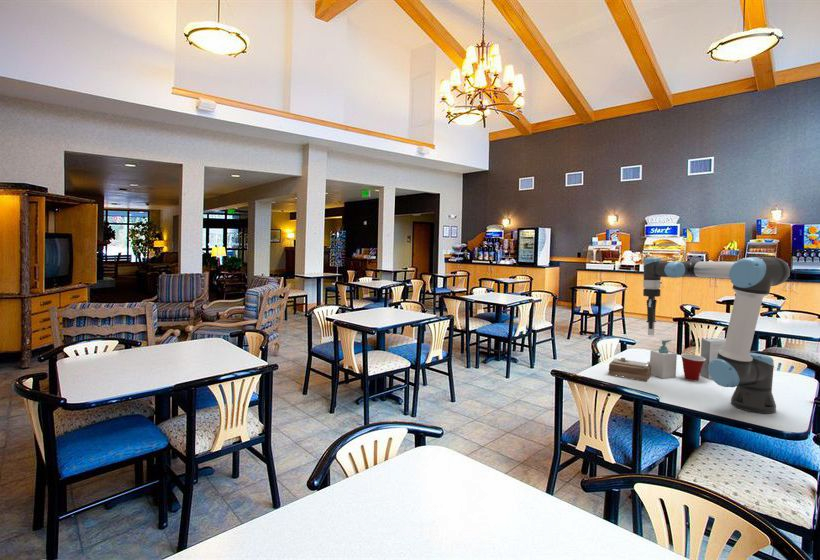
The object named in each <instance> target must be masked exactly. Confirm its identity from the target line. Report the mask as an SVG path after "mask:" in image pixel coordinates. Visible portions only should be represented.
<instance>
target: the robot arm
mask: <svg viewBox="0 0 820 560" xmlns="http://www.w3.org/2000/svg"><path fill="white" fill-rule="evenodd" d="M642 267H643V281H642V283H643V284H642V285H643V286H642V288H643V289H642V290H643V291H642V292H643V293H642V294H643V297H647V299H646V309H647V310H646V311H647V317H646V318H647V320H645V321H646V323H647V336H655V323H656V322H657V320H656V309H657V299H656V298H657V297H660V296H661V289H660V288H661V284H662V281H661V278H671V279H675V278H684V277H685V278H708V279H710V278H712V279H727V280H728V279H729V280H730V283H732V285H733V286H732V287H731V288H732V290H733V291H734V292H735V295H734V300H733V305H732V310H731V315H730V319H729V322H728V328H727V332H726V334H725V335H726V337H725V339H726V340H725V344H724V348H723V349H721V350H719V351H718V355H717V359H714V360H712V361H711V362H710V363H709V365H708V372H709V375H710V376H711V377H712V379H711V380H712V381H713V382H714V383H715V384H716V385H718V386H720V387H723V388H735V390H734V392H733V393H732V396H731V398H730V404H731V405H732V406H734V407H735V408H738V409H741V410H744V411H747V412H752V413H758V414H773V413H776V411H777V405H776V401H775V398H774V394H773V377H774V368H775V365H774V362H775V361H774V358H773V357H772V356H769V355H767V354H761V353H756V352H751V349H752V345H753V342H754V341H753V340H754V335H755V332H756V328H757V323H758V319H759V316H760V310H761V307H762V303H763V299H764V297H766V296H769V295H770V292H771V291H770V290H771V287H776V286H780V285H781V284H783V283H785V282H786V281H787V280H788V278H789V277H790V274H791V269H790V266H789V264H788V263H787V262H786V261H785V260H783V259H782V258H779V257H774V256H764V257H762V256H749V257H744V258H740V259H738V260H737V261H704V260H703V261H697V260H692V261H690V260H688V261H662V259H661V257H645V258H644V260H643V266H642Z"/></svg>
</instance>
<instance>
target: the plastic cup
mask: <svg viewBox="0 0 820 560" xmlns="http://www.w3.org/2000/svg"><path fill="white" fill-rule="evenodd" d="M680 356H681V360H682V368H683V373H684V374H683V375H684V379H686V380H687V379H688V381H693V380H697V381H699V378H700V376H701V375H700V372H701V368H702V365H703V363H704V361H705V360H706V359H705V358H703V357H701V355H697V354H691V353H681V354H680Z"/></svg>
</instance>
